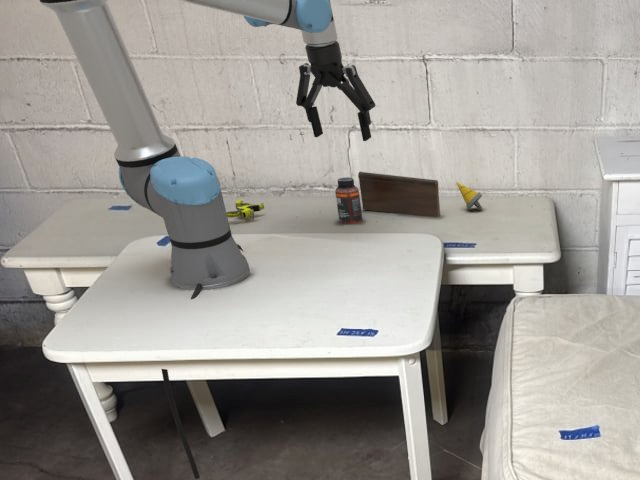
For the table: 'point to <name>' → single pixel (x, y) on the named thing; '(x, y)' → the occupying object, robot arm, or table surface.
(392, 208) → the wooden wall
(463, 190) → the yellow spinning top
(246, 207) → the yellow black clamp
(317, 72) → the robot arm
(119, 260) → the table surface
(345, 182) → the supplement bottle
